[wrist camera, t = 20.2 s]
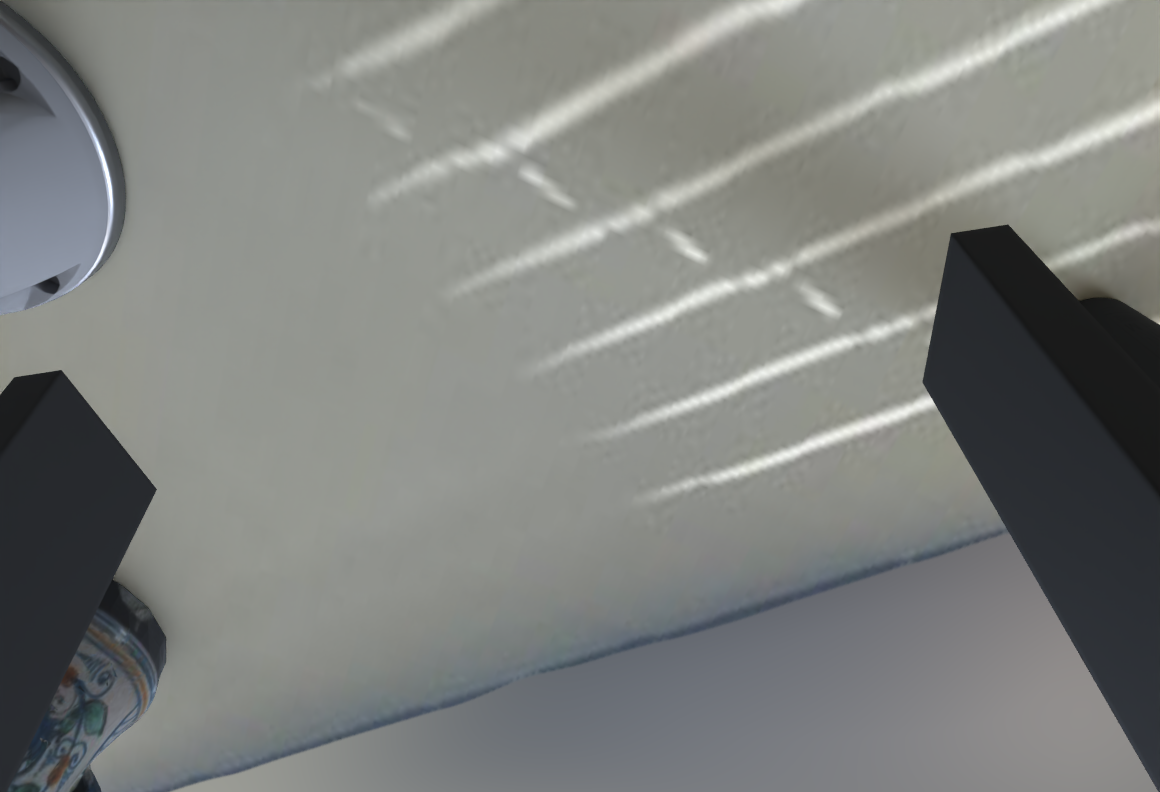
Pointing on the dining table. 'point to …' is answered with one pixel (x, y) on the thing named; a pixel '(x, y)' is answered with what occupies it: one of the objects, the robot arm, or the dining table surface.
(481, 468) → the dining table surface
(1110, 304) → the drinking cup
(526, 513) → the dining table surface
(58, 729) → the beer stein
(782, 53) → the dining table surface
